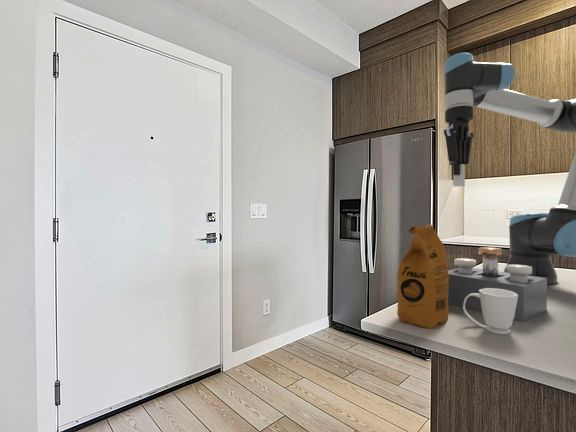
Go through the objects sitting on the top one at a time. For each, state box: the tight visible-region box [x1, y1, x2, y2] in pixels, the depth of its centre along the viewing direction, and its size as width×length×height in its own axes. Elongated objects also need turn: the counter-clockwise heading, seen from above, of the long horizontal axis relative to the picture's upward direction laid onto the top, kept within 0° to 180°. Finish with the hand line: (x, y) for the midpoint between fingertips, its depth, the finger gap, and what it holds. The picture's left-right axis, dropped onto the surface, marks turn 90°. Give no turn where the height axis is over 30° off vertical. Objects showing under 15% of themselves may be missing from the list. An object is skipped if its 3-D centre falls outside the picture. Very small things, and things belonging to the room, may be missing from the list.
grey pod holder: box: [448, 267, 548, 322], centre depth 85 cm, size 14×20×8 cm
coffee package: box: [396, 223, 450, 330], centre depth 75 cm, size 10×12×22 cm
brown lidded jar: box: [478, 247, 503, 278], centre depth 85 cm, size 5×5×8 cm
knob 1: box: [454, 257, 477, 274], centre depth 90 cm, size 5×5×8 cm
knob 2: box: [505, 264, 532, 283], centre depth 79 cm, size 5×5×8 cm
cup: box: [462, 288, 518, 335], centre depth 69 cm, size 7×10×8 cm
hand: (459, 186), depth 98 cm, fingers closed
